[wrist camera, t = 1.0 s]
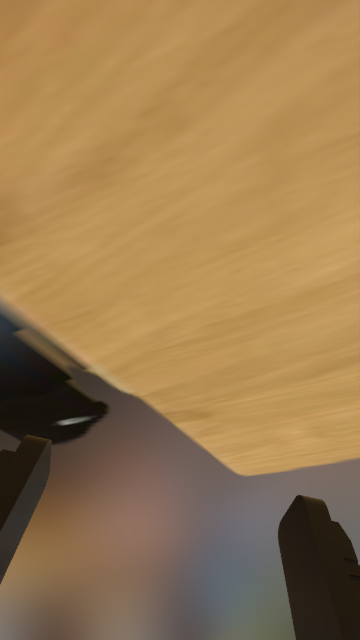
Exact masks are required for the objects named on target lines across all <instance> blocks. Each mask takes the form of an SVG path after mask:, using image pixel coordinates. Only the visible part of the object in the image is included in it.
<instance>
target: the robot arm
mask: <svg viewBox="0 0 360 640" xmlns="http://www.w3.org/2000/svg"><path fill="white" fill-rule="evenodd" d="M51 445H52V442H51V440H48V439H44V438H39V437H35V436H30V435H27V436H25V437H24V439H23V440H22V442H21V443H20V445H19V447H18V448H17V450H16V452H12V451H8V450H2V451H0V584H1V581H2V579H3V577H4V575H5V573H6V571H7V568H8V566H9V564H10V562H11V560H12V558H13V556H14V554H15V551H16V549H17V547H18V545H19V543H20V540H21V538H22V536H23V534H24V532H25V530H26V528H27V526H28V523H29V521H30V519H31V517H32V515H33V513H34V510H35V508H36V506H37V504H38V502H39V500H40V498H41V495H42V493H43V491H44V488H45V486H46V483H47V480H48V476H49V471H50V458H51ZM278 540H279V547H280V553H281V558H282V564H283V569H284V574H285V581H286V586H287V592H288V597H289V603H290V608H291V614H292V619H293V625H294V630H295V636H296V640H360V565H358V560H357V557H356V554H355V551H354V548H353V546H352V543H351V540H350V539H349V538H348V536H347V534H346V533H345V531H344V530H343V529H342V527H341V526H340V524H339V523H338V522H334V521H331V518H330V515H329V512H328V509H327V506H326V504H325V502H324V501H322V500H320V499H316V498H311V497H306V496H302V495H298V496H296V498H295V499H294V501H293V502H292V504H291V506H290V507H289V509H288V510H287V512H286V513H285V515H284V516H283V518H282V520H281V522H280V525H279V530H278Z"/></svg>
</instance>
